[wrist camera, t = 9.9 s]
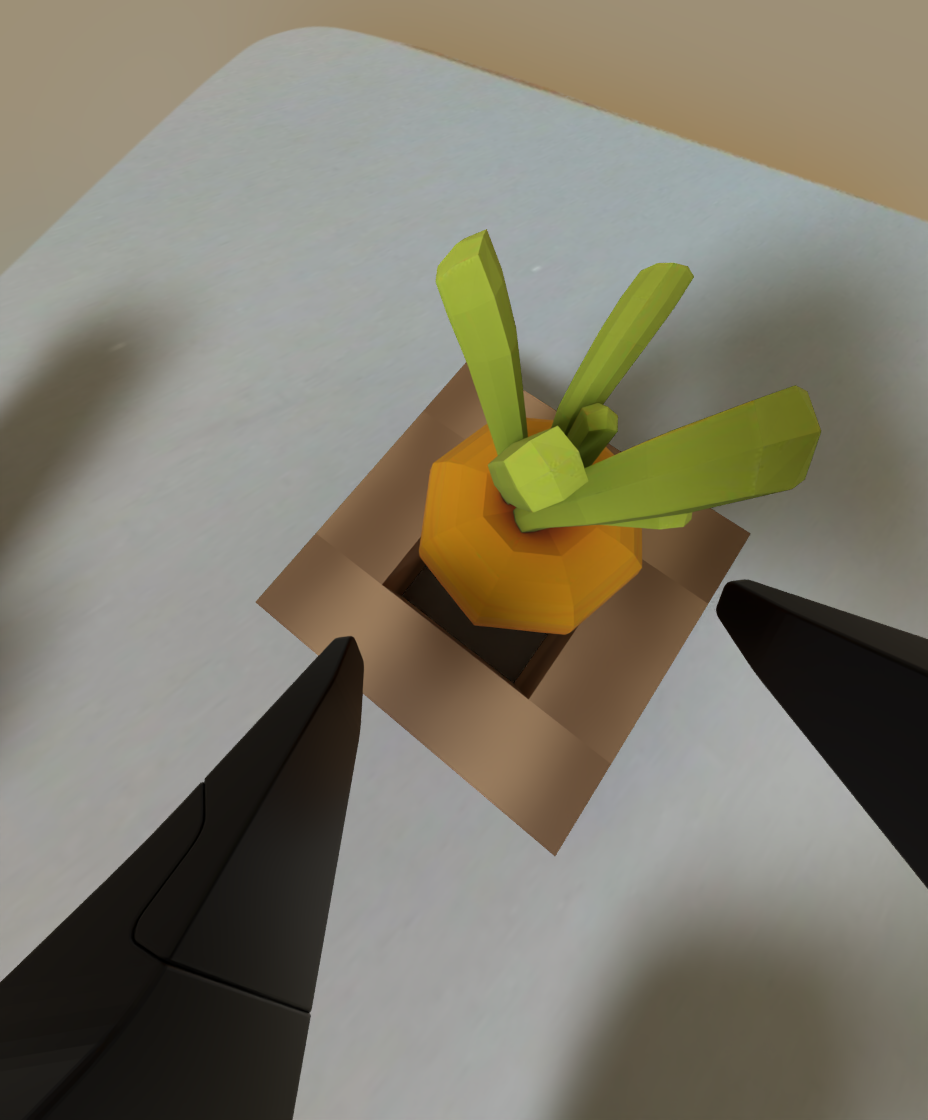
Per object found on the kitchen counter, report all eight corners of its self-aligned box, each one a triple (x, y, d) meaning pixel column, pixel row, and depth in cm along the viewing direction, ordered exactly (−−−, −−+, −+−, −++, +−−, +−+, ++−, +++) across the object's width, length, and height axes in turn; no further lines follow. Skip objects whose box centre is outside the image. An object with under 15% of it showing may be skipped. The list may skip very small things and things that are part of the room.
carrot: (434, 555, 18) (264, 160, 3) (524, 528, 18) (781, 44, 3) (460, 649, 17) (404, 760, 2) (556, 620, 17) (1155, 522, 2)
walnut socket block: (687, 555, 17) (750, 533, 14) (532, 798, 15) (554, 856, 11) (470, 412, 19) (470, 356, 15) (303, 609, 17) (255, 602, 13)
